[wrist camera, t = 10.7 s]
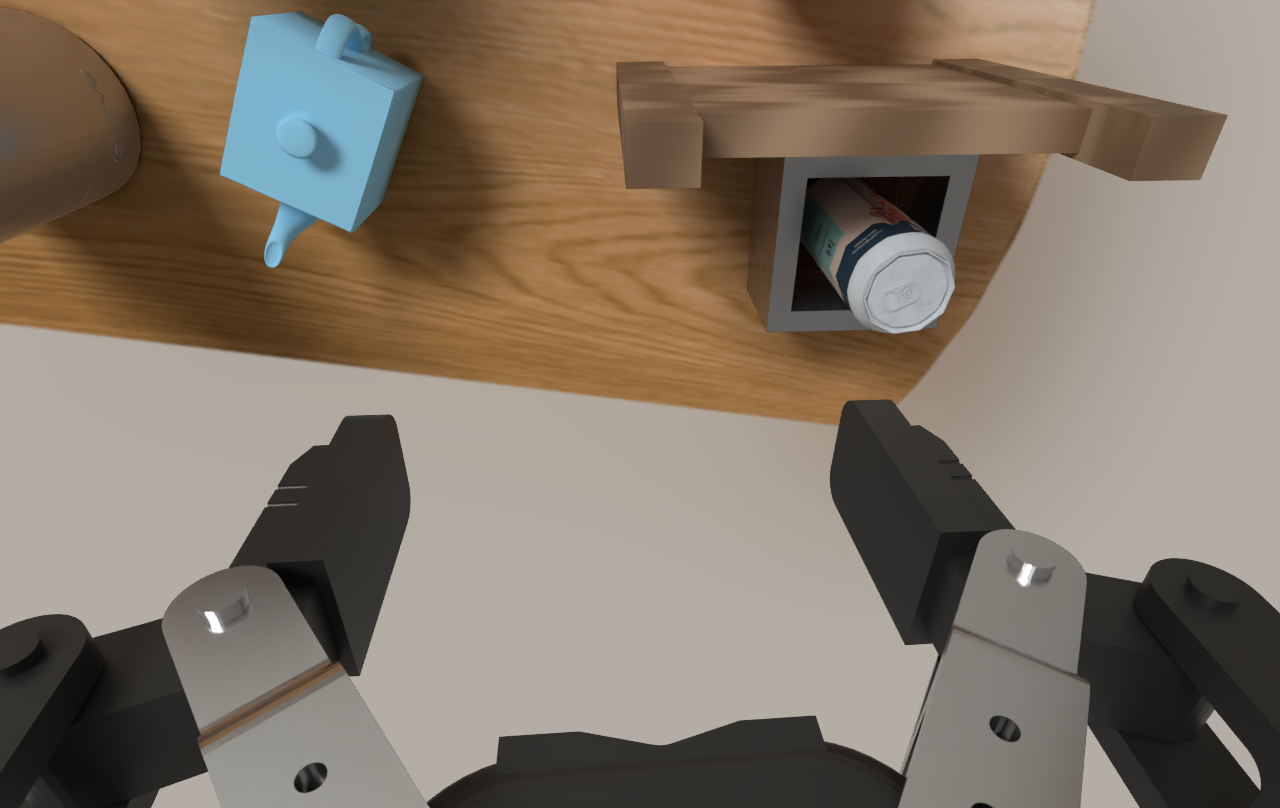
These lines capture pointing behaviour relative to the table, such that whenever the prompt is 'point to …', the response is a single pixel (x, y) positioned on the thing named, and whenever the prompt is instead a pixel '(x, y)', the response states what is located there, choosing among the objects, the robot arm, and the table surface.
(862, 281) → the beer can
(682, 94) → the headboard panel
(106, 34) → the table surface
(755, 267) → the post bracket
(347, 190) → the teapot
